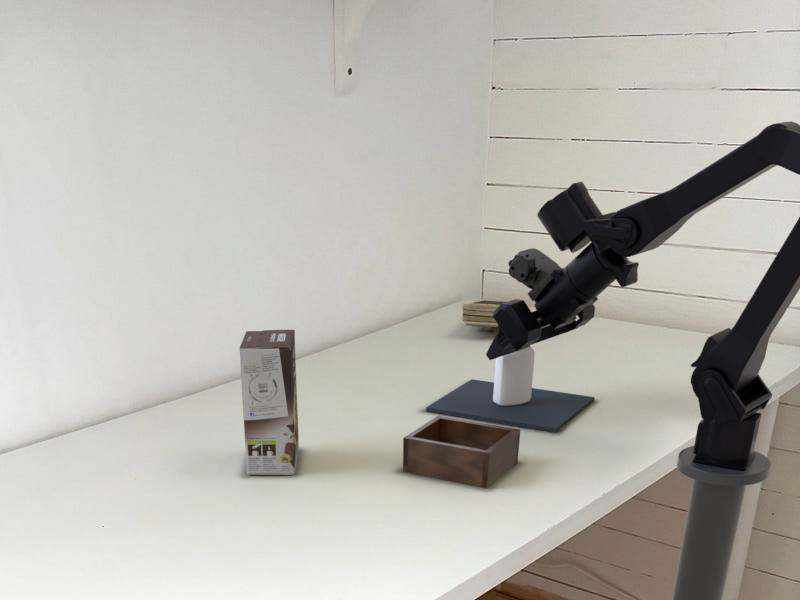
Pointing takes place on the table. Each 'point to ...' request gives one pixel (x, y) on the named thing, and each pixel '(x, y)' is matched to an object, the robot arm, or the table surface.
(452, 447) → the desk box
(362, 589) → the table surface
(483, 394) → the desk mat
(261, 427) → the coffee box
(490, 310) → the box
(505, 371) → the eye dropper bottle
